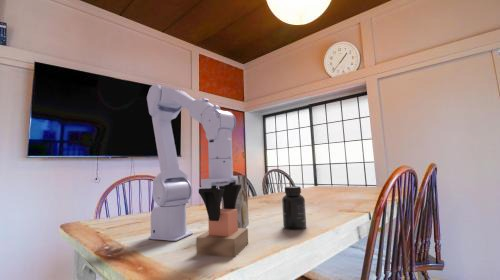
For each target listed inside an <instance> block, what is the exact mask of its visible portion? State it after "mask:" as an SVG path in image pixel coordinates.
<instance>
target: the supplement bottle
mask: <svg viewBox="0 0 500 280" xmlns="http://www.w3.org/2000/svg"><path fill="white" fill-rule="evenodd" d="M301 188H302V187H301V186H297V185H296V186H293V185H291V186H285V187H284V193H285V195H284V196H283V197H282V199H281V202H282V203H281V205H282V222H283V225H282V226H283V227H284V229H286V230H290V231H291V230H292V231H298V230H299V231H301V230H303V229H306V227H307V214H306V199H305V197H304V196H303V195H302V189H301Z"/></svg>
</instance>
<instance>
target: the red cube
mask: <svg viewBox="0 0 500 280" xmlns="http://www.w3.org/2000/svg"><path fill="white" fill-rule="evenodd" d="M207 221H208V231H209V235H218V236H230V235H231V234H233V233H235V232H236V231H238V217H237V209H222V208H220V218H219V221H210V220H209V217H208V220H207Z"/></svg>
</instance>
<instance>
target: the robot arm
mask: <svg viewBox="0 0 500 280" xmlns="http://www.w3.org/2000/svg"><path fill="white" fill-rule="evenodd" d="M146 101H147V108H148V113H149V115H150V116H151V120H152V126H153V133H154V137H155V144H156V150H157V157H158V162H159V169H160V173H158V174H157V175H156V176H155V177H154V178H153V179H152V184H153V185H152V198H153V201H154V202H155V204H156V205H155V206H154V207H153V208H152V210H151V211H150V236H148V239H149V240H156V241H157V240H159V241H171V242H177V241H178V240H179V241H180V240H182V239H183V238H186V237H189V236H190V235H192V234H194V231H188V230H187V227H188V226H187V204H189V200H190V199H191V197H192V195H193V186H192V184H191V182H190V180H189V177H188V174H187V173H186V172H185V171H183V170H181V169H180V165H179V160H178V154H177V149H176V148H177V147H176V144H175V138H174V133H173V128H172V127H173V126H172V120H174V119H176V118H177V117H178V115H179V114H180V112H181V110H182V109H186V110H187V111H188V113H189V116H190V117H191V118H192V119H193V120H195V121H197V122H198V123H199V124H201V125H202V128H203V131H204V132H205V138H206V140H207V143H208V145H207V148H208V150H207V151H208V153H207V154H208V178H204V179H203V178H201V179H200V188H198V194H199V196H200V197H201V199H202V201H203V204H204V205H205V209H206V212H207V216H208V217H209V220H210V221H219V218H220V209H221V206H222V197H223V203H224V209H235V205H236V200H237V196H238V194H239V191H240V189H241V184H237V183H238V177H237V176H236V175H234V166H233V165H234V164H233V137H232V136H233V135H232V133H233V132H234V131H235V129H236V125H237V119H236V116H235V115H234V113H232V111H231V110H222V109H221V107H220V106H219V105H217V104H212V103H210V99H208V98H205V97H202V98H196V99H195V98H194V97H192V96H191V95H189V94H188V93H187V92H186V91H183V90H181V89H175V88H171V87H166V86H163V85H159V84H157V83H154V84H152V85H151V86H150V87H149V90H148V93H147V96H146ZM221 182H226V183H221ZM223 185H225V186H223Z"/></svg>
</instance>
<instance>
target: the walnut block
mask: <svg viewBox="0 0 500 280" xmlns="http://www.w3.org/2000/svg"><path fill="white" fill-rule="evenodd" d="M195 239H196V243H195V244H196V255H200V256H201V255H202V256H214V257H215V256H216V257H230V258H236V257H237V256H238V255H239V254H240V253H241V251H243V250H244V249H246V247H247V246H248V245H249V229H248V228H247V227H245V228H238V231H236V232H235V233H233V234H231V235H230V236H218V235H209V230H207V231H205V232H204V233H202V234H200V235H198V236H197V237H196V238H195ZM236 255H237V256H236Z"/></svg>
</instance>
